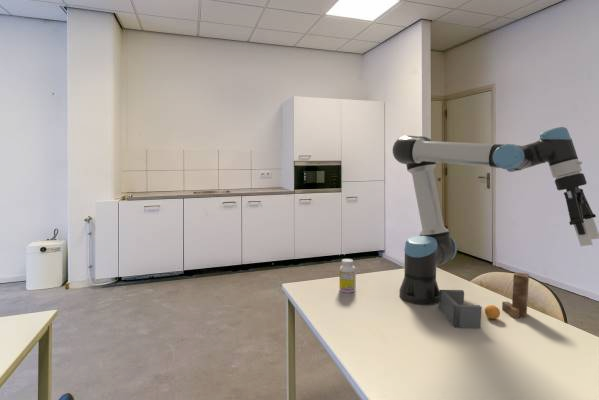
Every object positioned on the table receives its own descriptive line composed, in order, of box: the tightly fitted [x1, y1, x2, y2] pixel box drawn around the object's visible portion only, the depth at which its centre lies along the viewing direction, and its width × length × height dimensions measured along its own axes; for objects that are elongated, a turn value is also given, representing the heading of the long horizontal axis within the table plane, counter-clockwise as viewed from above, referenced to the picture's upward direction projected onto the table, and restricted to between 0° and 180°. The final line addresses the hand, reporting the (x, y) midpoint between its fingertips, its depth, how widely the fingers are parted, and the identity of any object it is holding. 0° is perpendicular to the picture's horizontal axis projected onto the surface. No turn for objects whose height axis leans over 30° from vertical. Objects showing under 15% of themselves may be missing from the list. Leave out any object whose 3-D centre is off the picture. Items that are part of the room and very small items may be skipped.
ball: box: [484, 304, 501, 320], centre depth 116 cm, size 4×4×4 cm
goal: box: [438, 289, 482, 329], centre depth 117 cm, size 15×8×7 cm, turn 176°
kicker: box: [501, 271, 530, 319], centre depth 119 cm, size 7×7×14 cm
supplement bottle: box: [339, 258, 357, 294], centre depth 144 cm, size 7×7×13 cm
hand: (590, 242), depth 106 cm, fingers open, 13 cm apart
